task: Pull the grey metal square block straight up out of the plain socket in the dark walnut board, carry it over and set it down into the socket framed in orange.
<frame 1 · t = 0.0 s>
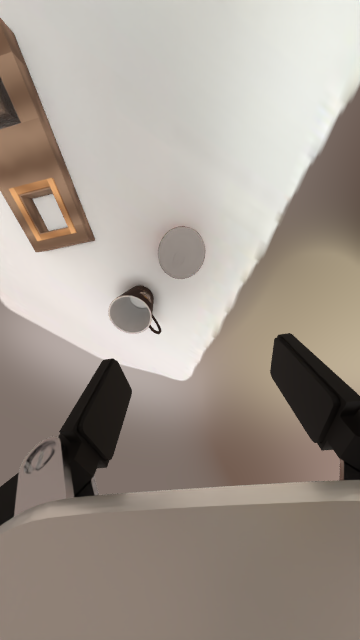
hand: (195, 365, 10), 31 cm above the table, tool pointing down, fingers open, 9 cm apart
coffee mug: (143, 302, 42), on the table
canned food: (181, 248, 35), on the table
socket board: (32, 167, 29), on the table
metal block: (6, 110, 25), resting in socket board
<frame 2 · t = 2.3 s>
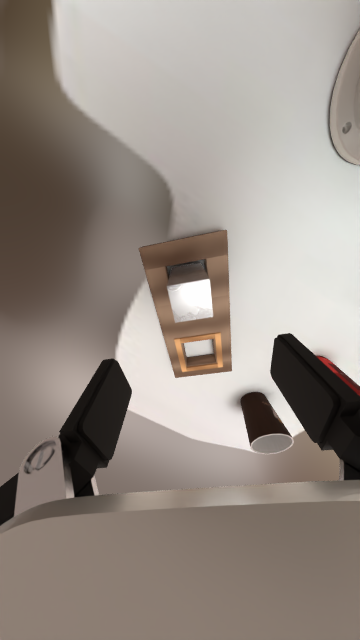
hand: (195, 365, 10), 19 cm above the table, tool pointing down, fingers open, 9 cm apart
coffee mug: (253, 402, 43), on the table
canned food: (309, 367, 36), on the table
socket board: (193, 315, 30), on the table
metal block: (188, 278, 26), resting in socket board
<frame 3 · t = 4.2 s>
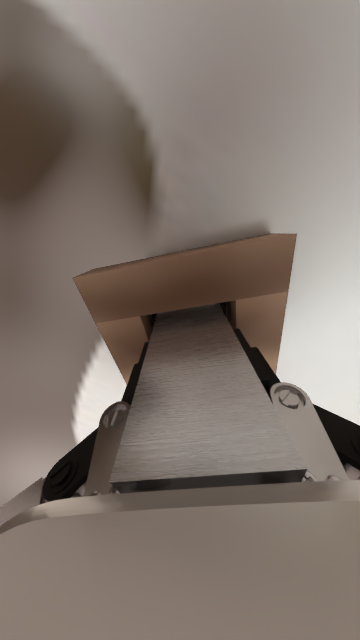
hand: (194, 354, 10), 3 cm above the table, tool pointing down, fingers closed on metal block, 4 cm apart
socket board: (201, 383, 17), on the table
metal block: (191, 327, 13), resting in socket board, touching gripper
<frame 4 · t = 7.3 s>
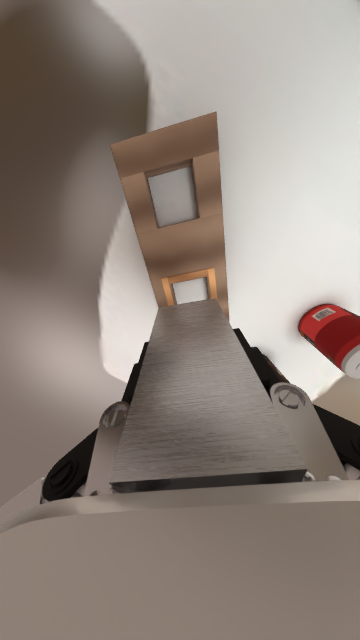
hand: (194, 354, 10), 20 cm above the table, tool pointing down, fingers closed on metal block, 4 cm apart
canned food: (317, 320, 32), on the table
socket board: (183, 252, 26), on the table
metal block: (191, 327, 13), point 16 cm above the table, touching gripper
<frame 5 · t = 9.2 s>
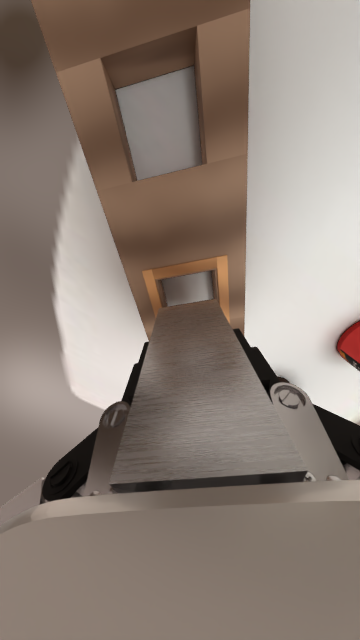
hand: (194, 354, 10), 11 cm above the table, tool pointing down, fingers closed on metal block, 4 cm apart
socket board: (178, 230, 16), on the table
metal block: (191, 327, 13), point 8 cm above the table, touching gripper
when the fingers open (5 cm above the table, at t = 10.7 s): metal block drops 1 cm, resting in socket board.
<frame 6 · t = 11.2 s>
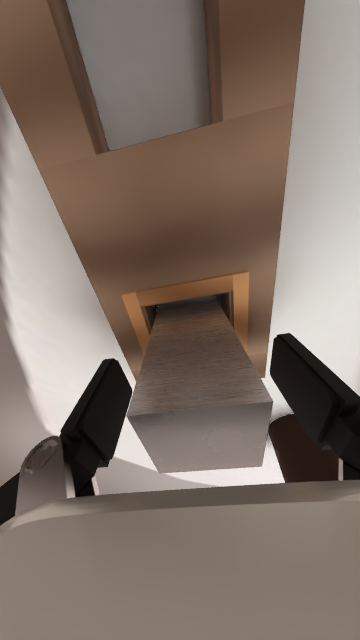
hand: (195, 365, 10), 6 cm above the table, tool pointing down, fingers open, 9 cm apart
coffee mug: (289, 430, 24), on the table
socket board: (175, 235, 11), on the table
metal block: (190, 318, 15), resting in socket board
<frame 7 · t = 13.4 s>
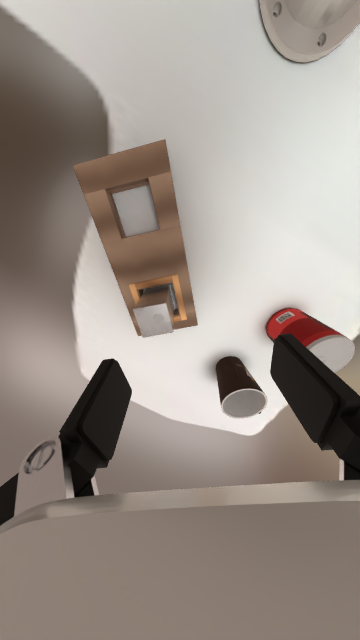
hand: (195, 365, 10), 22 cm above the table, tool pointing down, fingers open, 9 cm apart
coffee mug: (229, 370, 40), on the table
canned food: (283, 323, 34), on the table
socket board: (150, 260, 28), on the table
metal block: (160, 297, 31), resting in socket board
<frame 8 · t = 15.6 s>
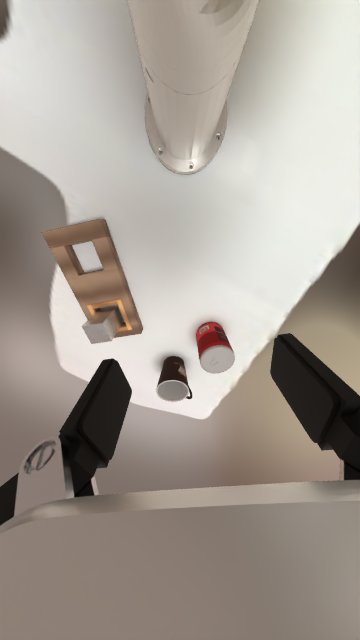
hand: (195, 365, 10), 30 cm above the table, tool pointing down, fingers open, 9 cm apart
coffee mug: (175, 366, 51), on the table
canned food: (209, 333, 45), on the table
socket board: (103, 287, 38), on the table
metal block: (114, 312, 42), resting in socket board
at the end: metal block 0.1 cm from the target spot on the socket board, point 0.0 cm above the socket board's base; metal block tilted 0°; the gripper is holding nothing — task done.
